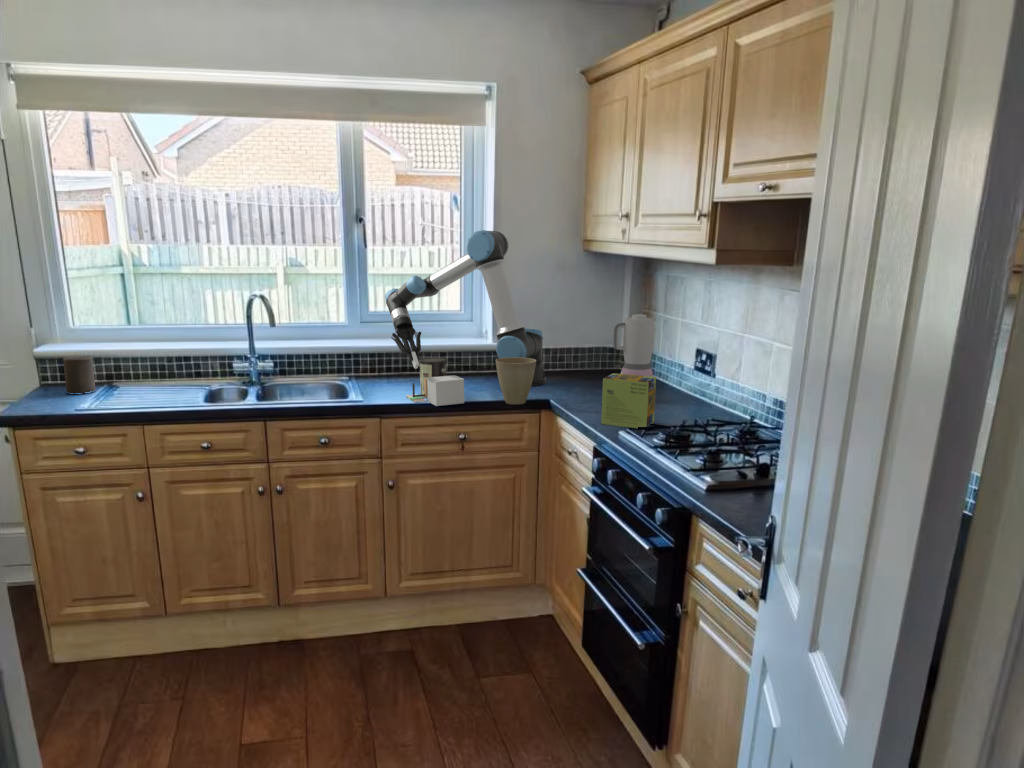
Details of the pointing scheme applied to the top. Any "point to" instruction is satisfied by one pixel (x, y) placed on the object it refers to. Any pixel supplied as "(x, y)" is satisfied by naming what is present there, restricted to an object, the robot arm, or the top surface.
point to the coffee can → (431, 369)
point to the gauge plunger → (424, 390)
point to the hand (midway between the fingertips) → (416, 366)
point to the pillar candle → (79, 374)
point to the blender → (636, 344)
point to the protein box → (628, 400)
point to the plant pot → (515, 378)
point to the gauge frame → (443, 391)
